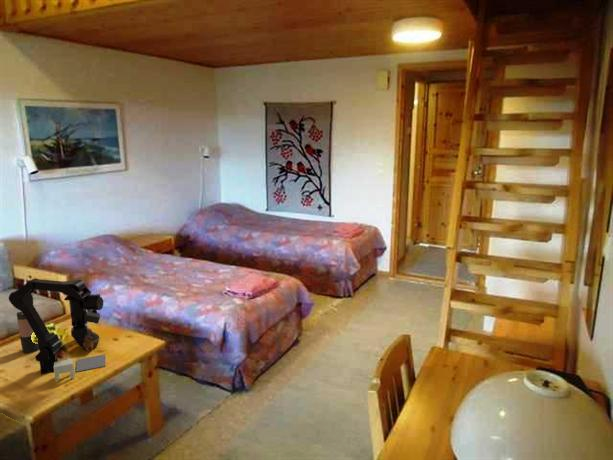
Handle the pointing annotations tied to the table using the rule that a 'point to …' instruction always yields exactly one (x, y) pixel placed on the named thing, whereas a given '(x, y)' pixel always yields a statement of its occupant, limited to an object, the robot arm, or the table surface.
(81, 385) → the table surface
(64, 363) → the notched white block
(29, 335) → the travel mug
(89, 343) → the painted clay ocarina
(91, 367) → the mat
